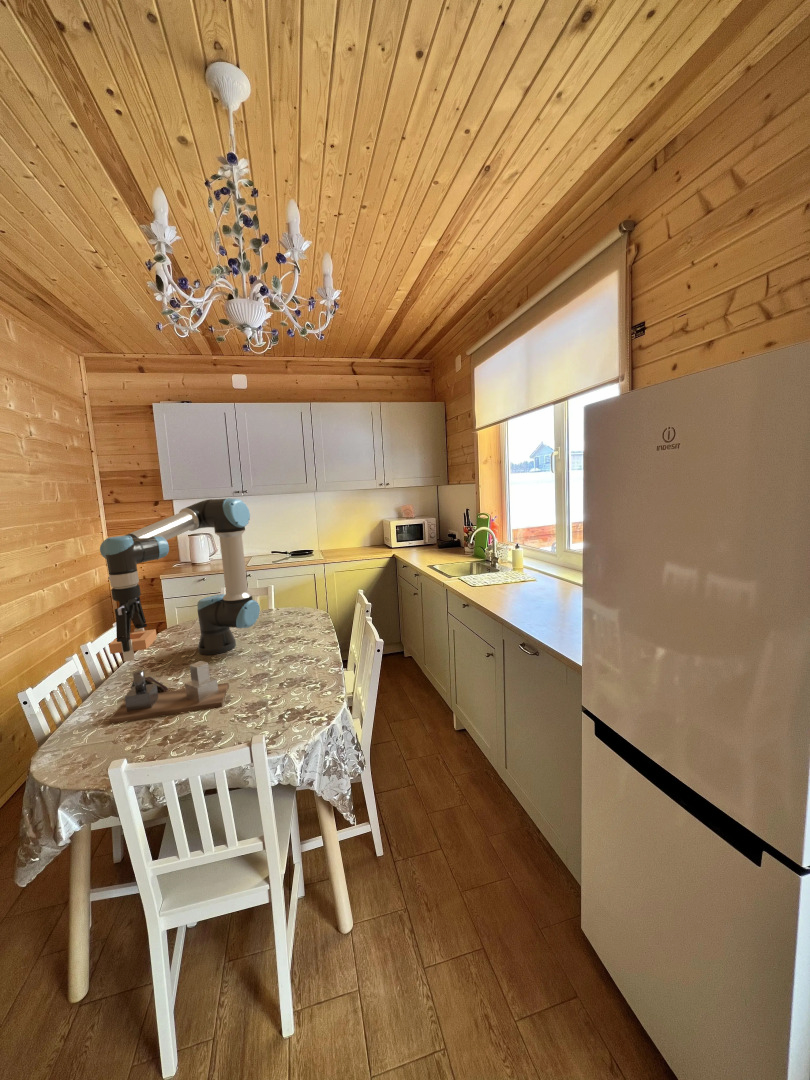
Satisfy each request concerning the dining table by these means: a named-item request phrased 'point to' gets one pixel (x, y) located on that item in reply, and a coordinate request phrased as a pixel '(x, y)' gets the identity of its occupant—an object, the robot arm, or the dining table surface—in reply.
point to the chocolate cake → (150, 680)
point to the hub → (201, 683)
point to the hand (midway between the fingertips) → (135, 653)
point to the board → (171, 705)
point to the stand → (141, 693)
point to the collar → (135, 641)
